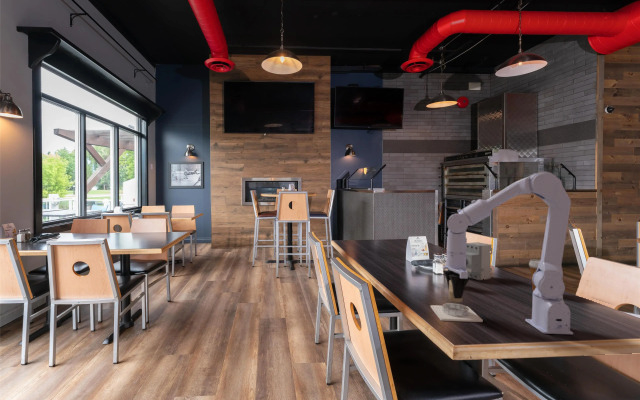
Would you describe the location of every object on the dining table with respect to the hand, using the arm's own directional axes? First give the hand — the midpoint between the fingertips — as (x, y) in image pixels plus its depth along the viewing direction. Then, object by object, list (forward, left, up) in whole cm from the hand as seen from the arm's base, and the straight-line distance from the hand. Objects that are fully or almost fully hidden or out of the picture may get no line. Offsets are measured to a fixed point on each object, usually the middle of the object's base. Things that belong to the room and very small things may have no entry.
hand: (455, 295), depth 108 cm
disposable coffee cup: (+26, -41, -6) cm, 49 cm away
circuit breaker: (+47, -23, -6) cm, 53 cm away
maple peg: (0, 0, -1) cm, 1 cm away
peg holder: (0, 0, -6) cm, 6 cm away
